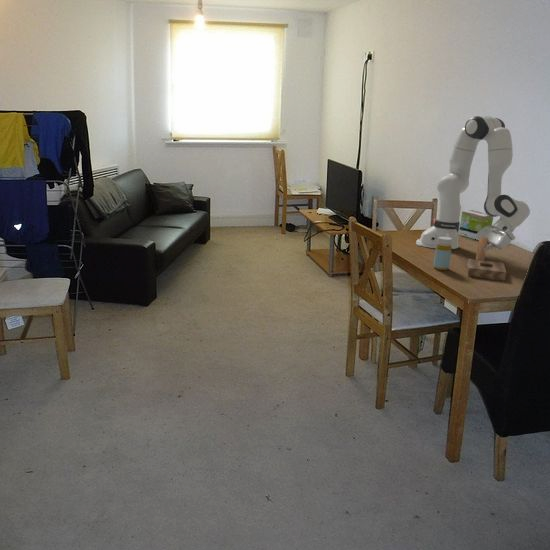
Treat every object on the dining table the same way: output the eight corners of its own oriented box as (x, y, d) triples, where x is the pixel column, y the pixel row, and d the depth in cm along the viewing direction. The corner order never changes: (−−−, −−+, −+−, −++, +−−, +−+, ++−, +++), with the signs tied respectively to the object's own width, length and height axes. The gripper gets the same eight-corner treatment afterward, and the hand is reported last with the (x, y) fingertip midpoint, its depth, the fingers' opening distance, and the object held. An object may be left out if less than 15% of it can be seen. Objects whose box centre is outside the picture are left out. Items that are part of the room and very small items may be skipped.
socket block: (467, 276, 256) (468, 267, 255) (466, 266, 271) (468, 258, 269) (504, 280, 252) (506, 272, 251) (502, 270, 266) (503, 262, 265)
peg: (475, 264, 275) (479, 238, 271) (474, 262, 279) (479, 236, 275) (483, 265, 274) (488, 239, 270) (483, 263, 278) (487, 237, 274)
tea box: (457, 235, 331) (461, 210, 327) (468, 233, 337) (471, 209, 333) (479, 241, 320) (484, 215, 315) (490, 239, 326) (494, 214, 321)
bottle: (446, 271, 261) (450, 240, 256) (431, 268, 265) (435, 238, 260) (450, 268, 267) (454, 237, 262) (435, 265, 270) (439, 235, 266)
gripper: (486, 220, 281) (465, 239, 282) (510, 230, 263) (489, 250, 263) (492, 228, 284) (472, 247, 285) (517, 239, 265) (495, 259, 266)
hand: (480, 249), depth 274 cm, fingers closed on peg, 4 cm apart
